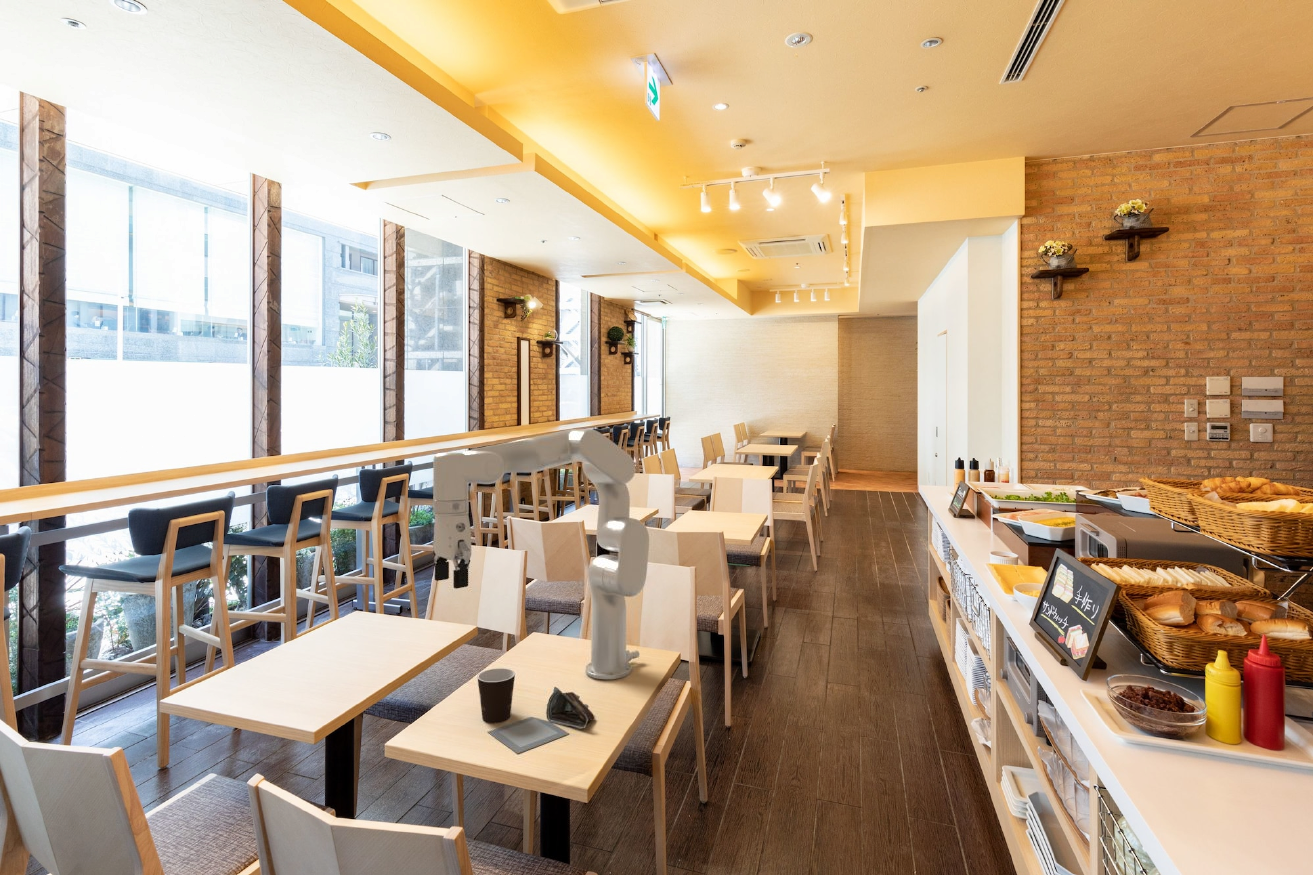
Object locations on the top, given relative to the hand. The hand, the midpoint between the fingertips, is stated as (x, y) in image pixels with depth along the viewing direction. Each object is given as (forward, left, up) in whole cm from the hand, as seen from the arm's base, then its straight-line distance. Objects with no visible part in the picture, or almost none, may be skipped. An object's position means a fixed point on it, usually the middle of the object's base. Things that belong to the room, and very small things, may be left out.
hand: (451, 583), depth 143 cm
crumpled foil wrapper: (-24, +19, -35) cm, 46 cm away
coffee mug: (-12, 0, -33) cm, 35 cm away
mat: (-12, +13, -33) cm, 38 cm away
